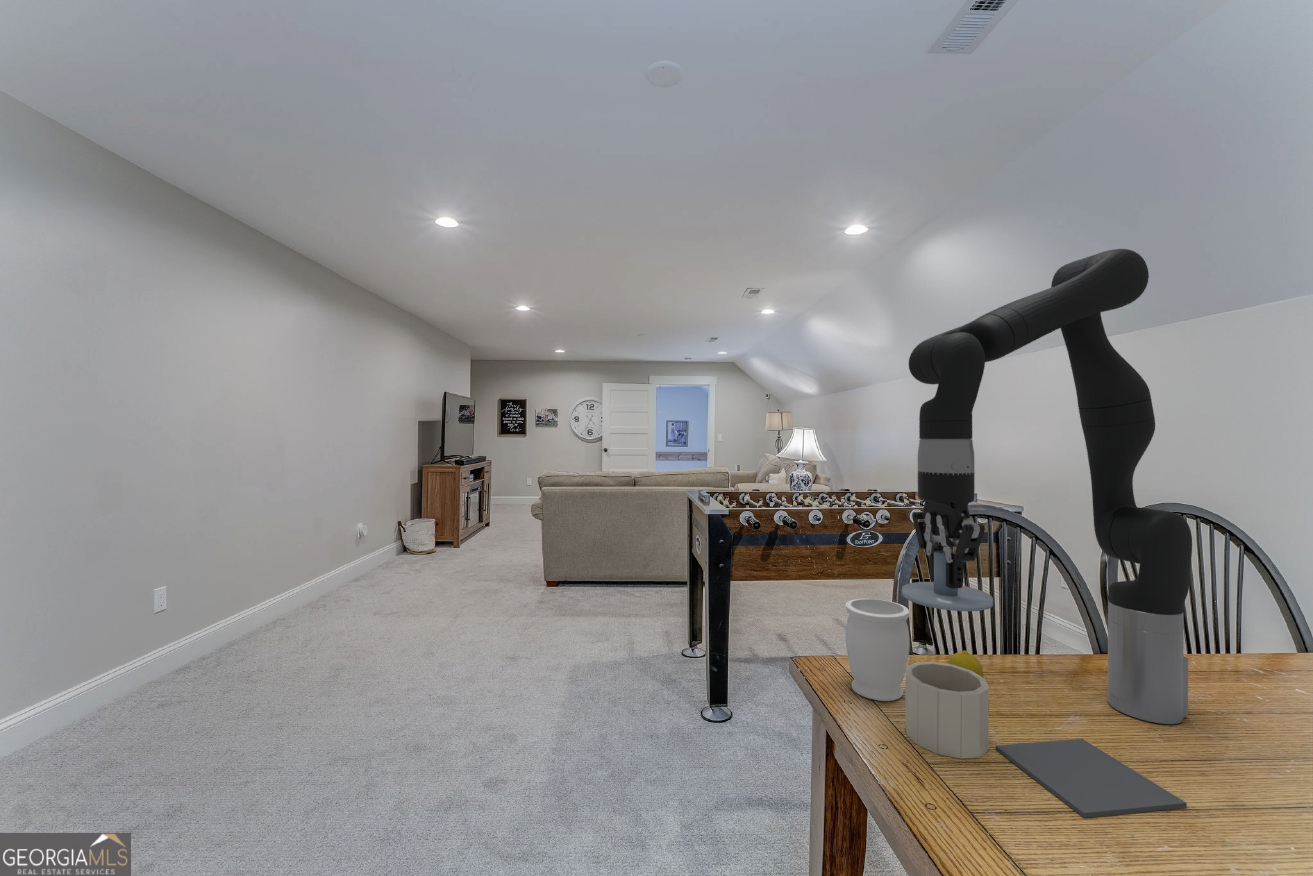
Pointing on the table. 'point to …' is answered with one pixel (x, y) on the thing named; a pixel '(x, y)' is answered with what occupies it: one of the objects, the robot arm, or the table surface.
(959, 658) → the lemon
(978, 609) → the lid
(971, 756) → the crock
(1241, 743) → the table surface
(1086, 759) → the mat
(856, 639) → the jar
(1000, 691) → the table surface
